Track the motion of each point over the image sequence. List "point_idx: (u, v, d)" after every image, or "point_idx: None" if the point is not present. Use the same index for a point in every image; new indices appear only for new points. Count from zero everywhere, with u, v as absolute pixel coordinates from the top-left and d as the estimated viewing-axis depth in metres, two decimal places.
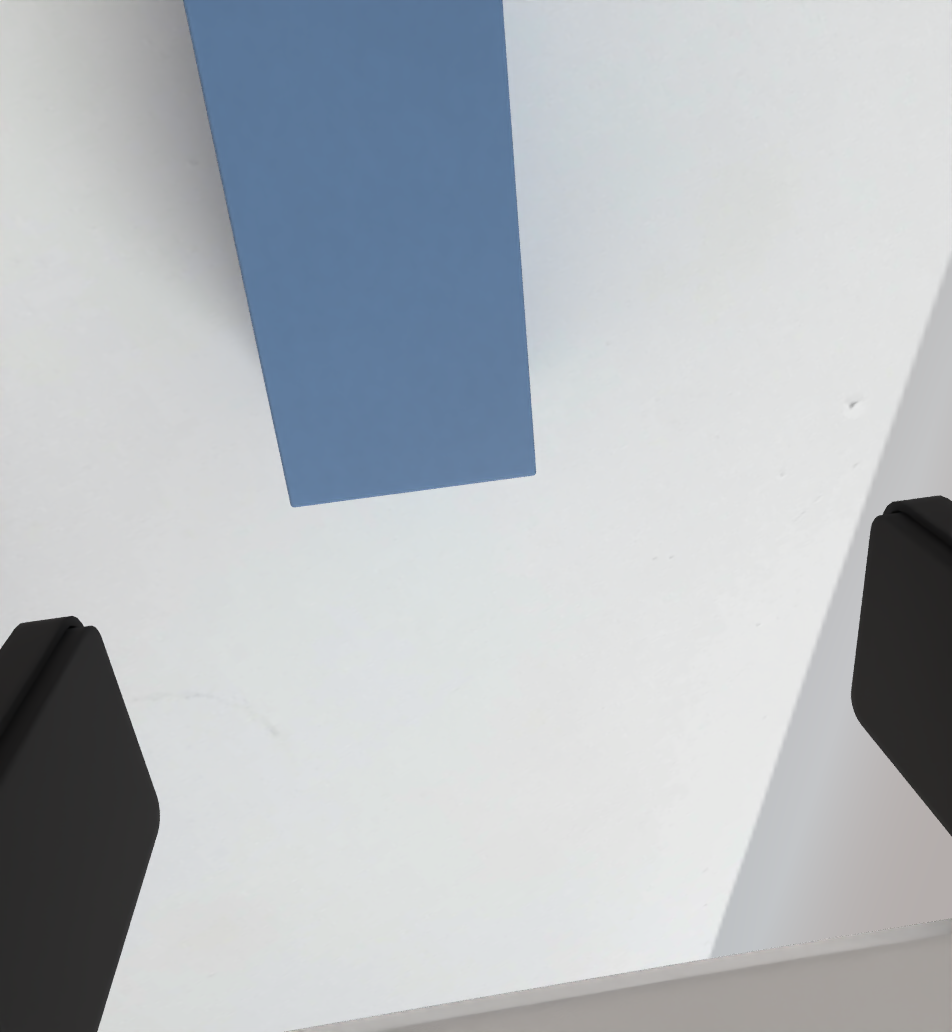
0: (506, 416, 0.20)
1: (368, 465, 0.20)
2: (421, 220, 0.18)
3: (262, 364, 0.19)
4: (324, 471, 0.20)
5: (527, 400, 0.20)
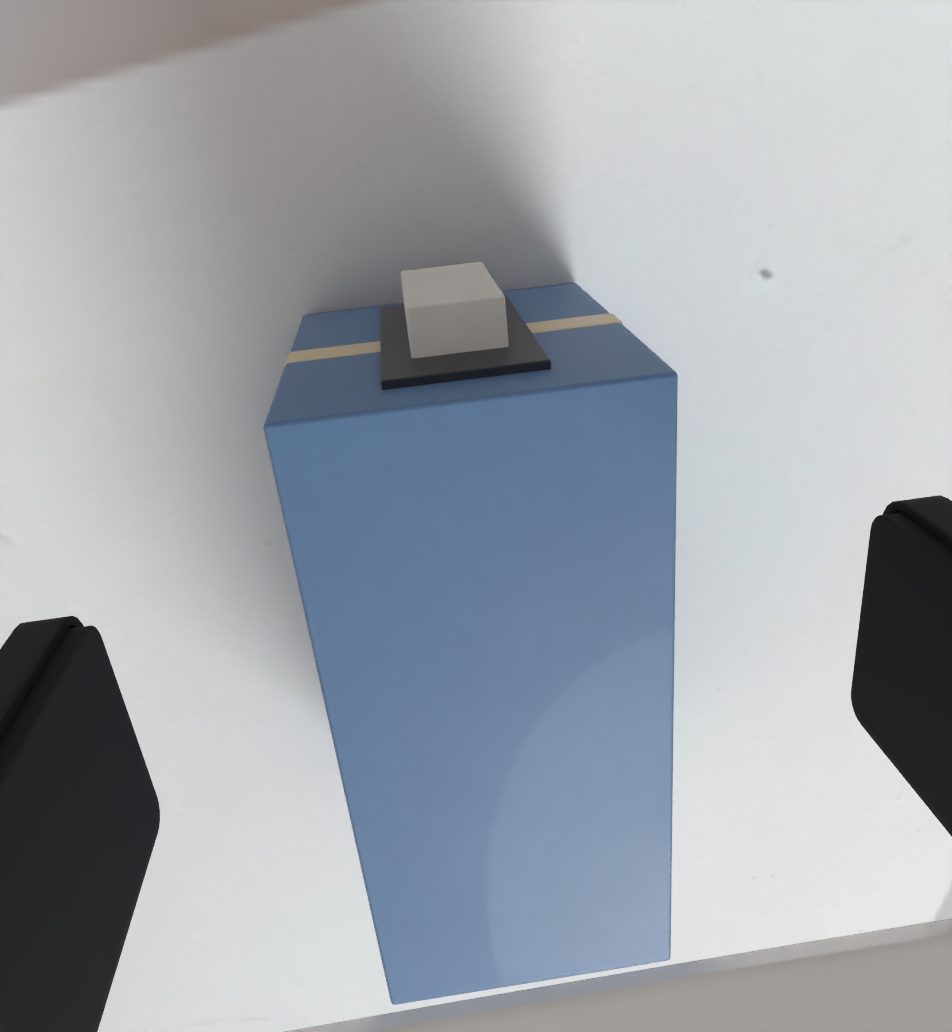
0: (642, 914, 0.17)
1: (481, 965, 0.17)
2: (561, 754, 0.15)
3: (367, 889, 0.16)
4: (431, 973, 0.17)
5: (667, 900, 0.17)
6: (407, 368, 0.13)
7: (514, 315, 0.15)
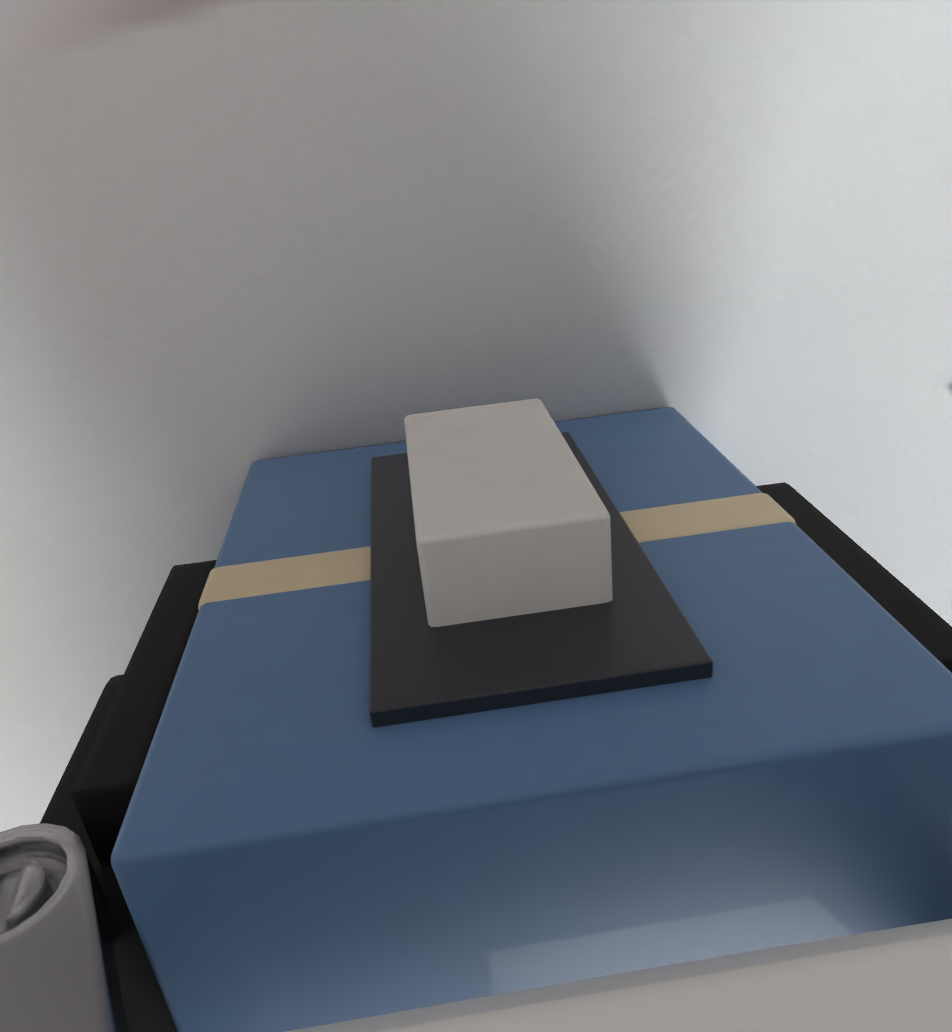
0: None
1: None
2: None
3: None
4: None
5: None
6: (423, 666, 0.07)
7: (600, 497, 0.09)
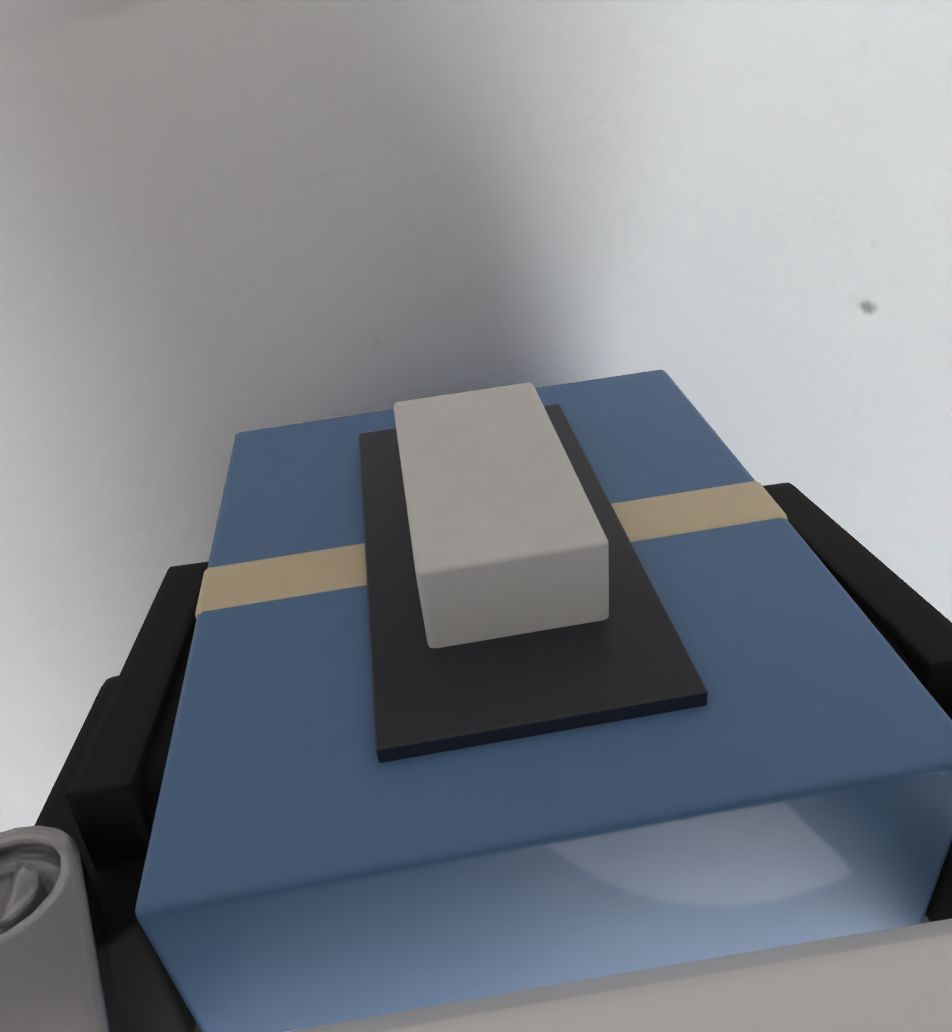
0: None
1: None
2: None
3: None
4: None
5: None
6: (426, 695, 0.07)
7: (593, 488, 0.09)
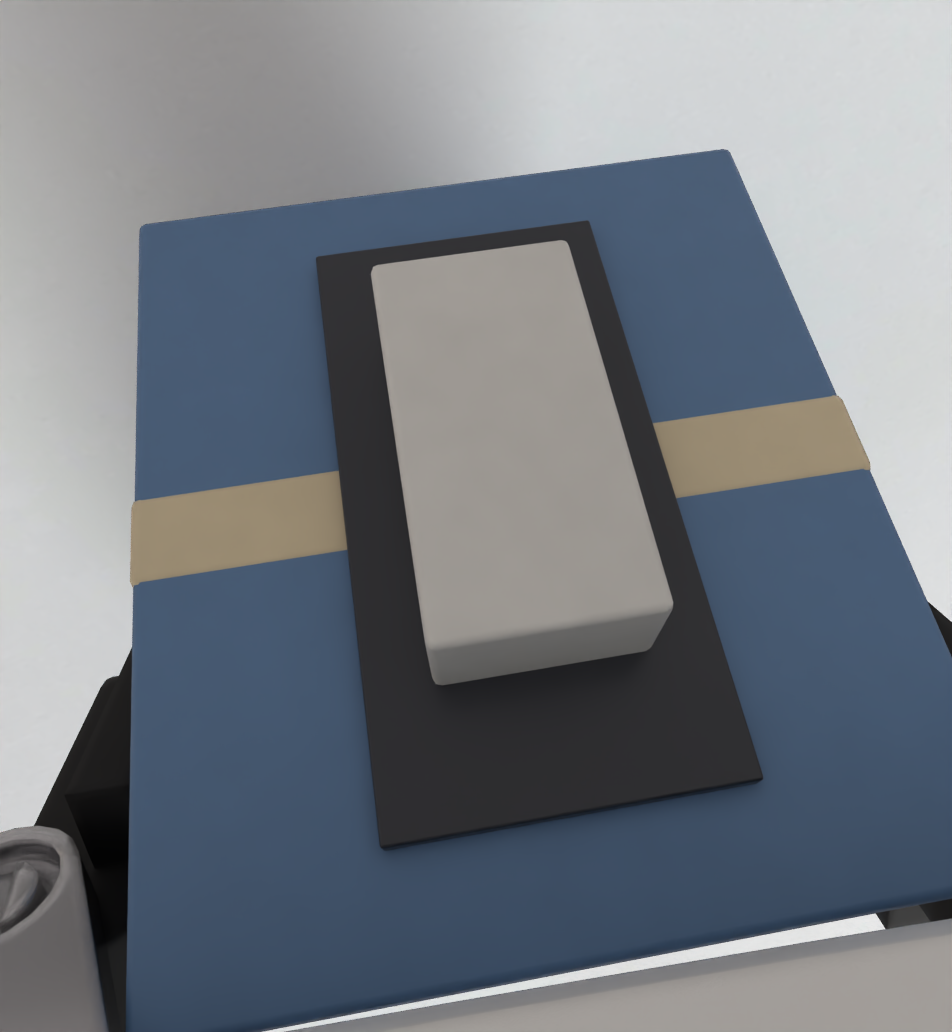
0: None
1: None
2: None
3: None
4: None
5: None
6: (436, 765, 0.06)
7: (634, 404, 0.07)
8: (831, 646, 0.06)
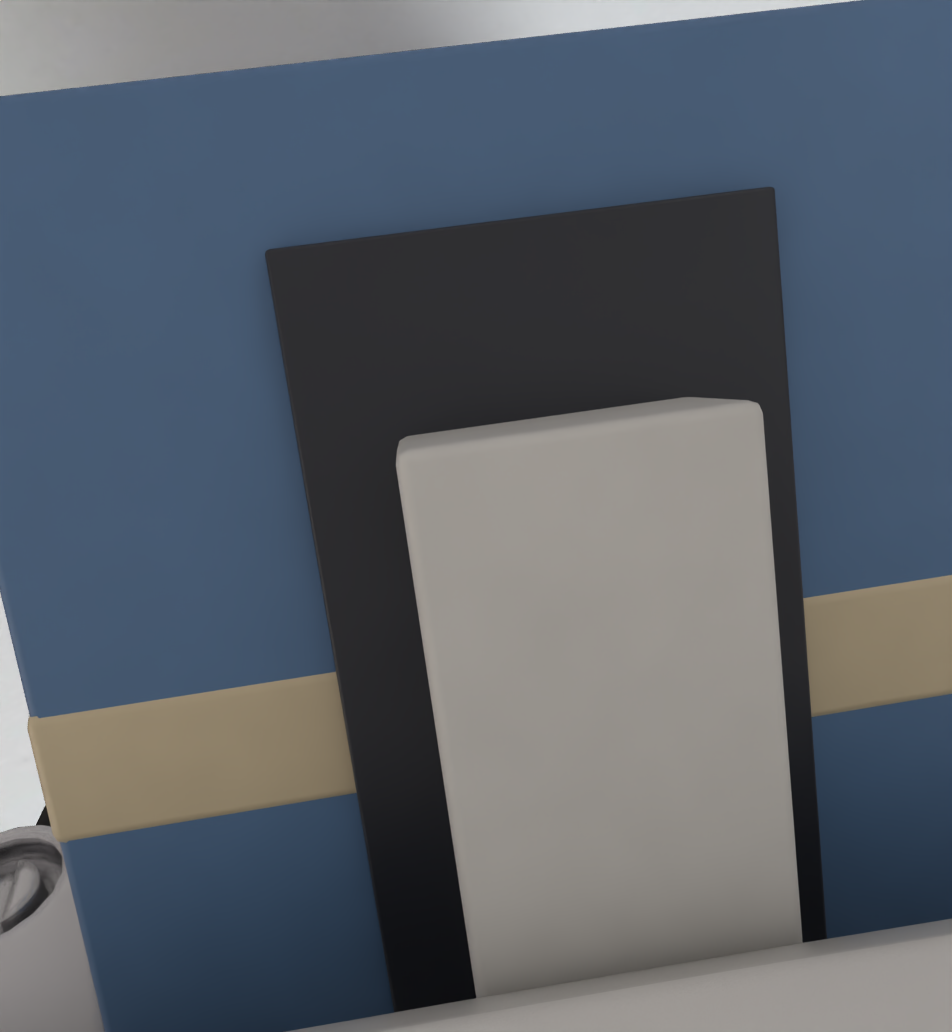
0: None
1: None
2: None
3: None
4: None
5: None
6: None
7: (785, 589, 0.05)
8: (946, 908, 0.05)
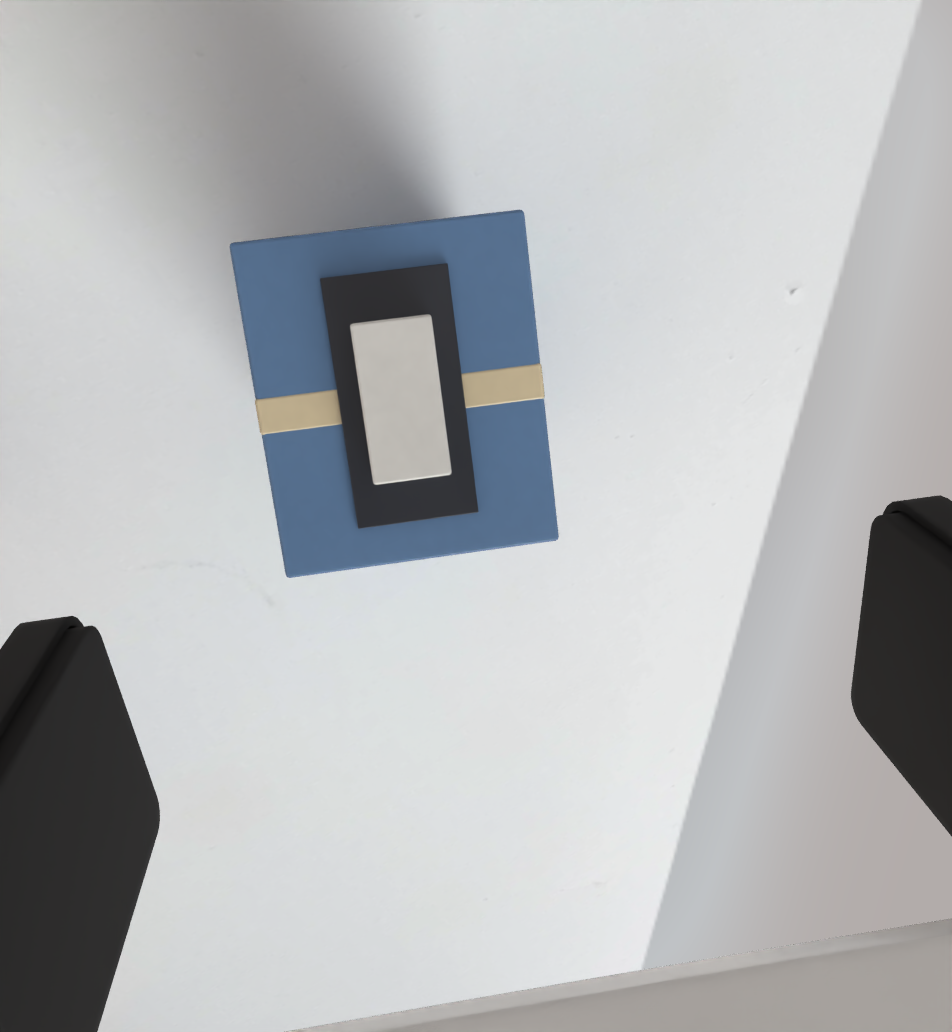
0: None
1: None
2: None
3: None
4: None
5: None
6: (375, 504, 0.18)
7: (455, 368, 0.17)
8: (511, 468, 0.18)
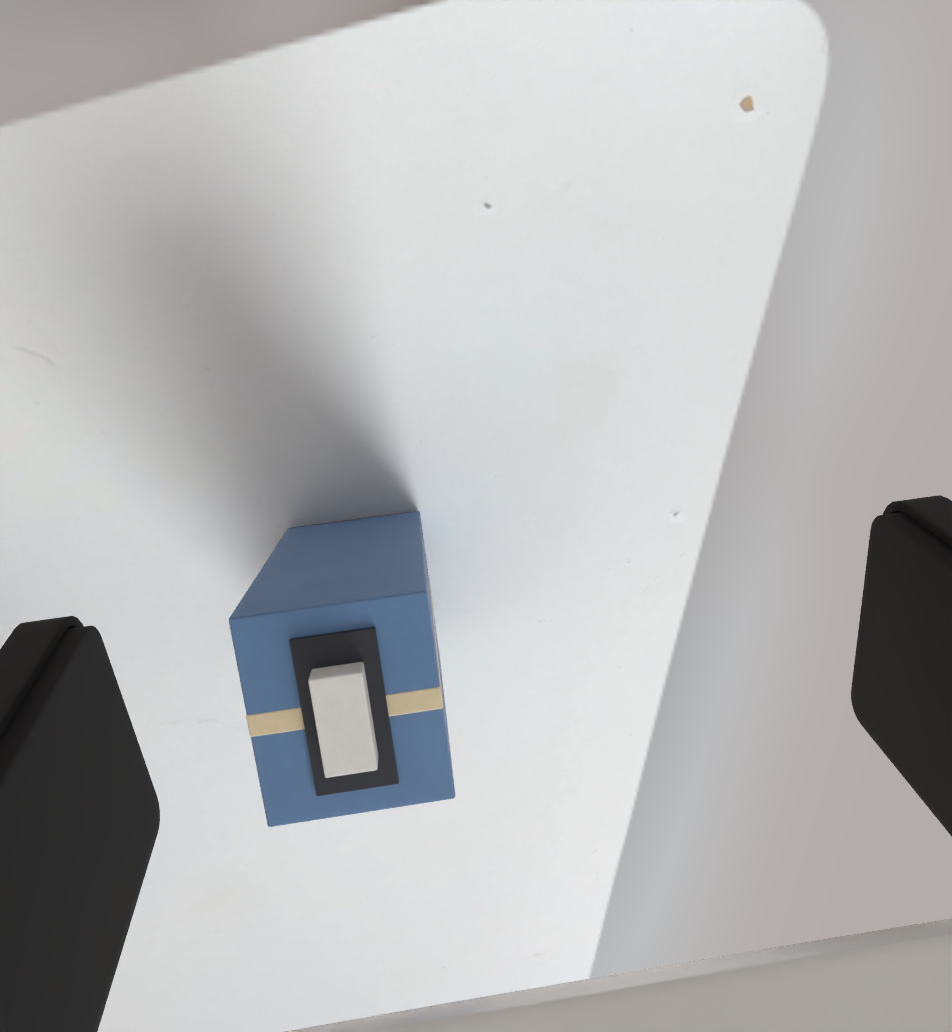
0: None
1: None
2: None
3: None
4: None
5: None
6: (327, 780, 0.26)
7: (381, 693, 0.26)
8: (421, 753, 0.26)
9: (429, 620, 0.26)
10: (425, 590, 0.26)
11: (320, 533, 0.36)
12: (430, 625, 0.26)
